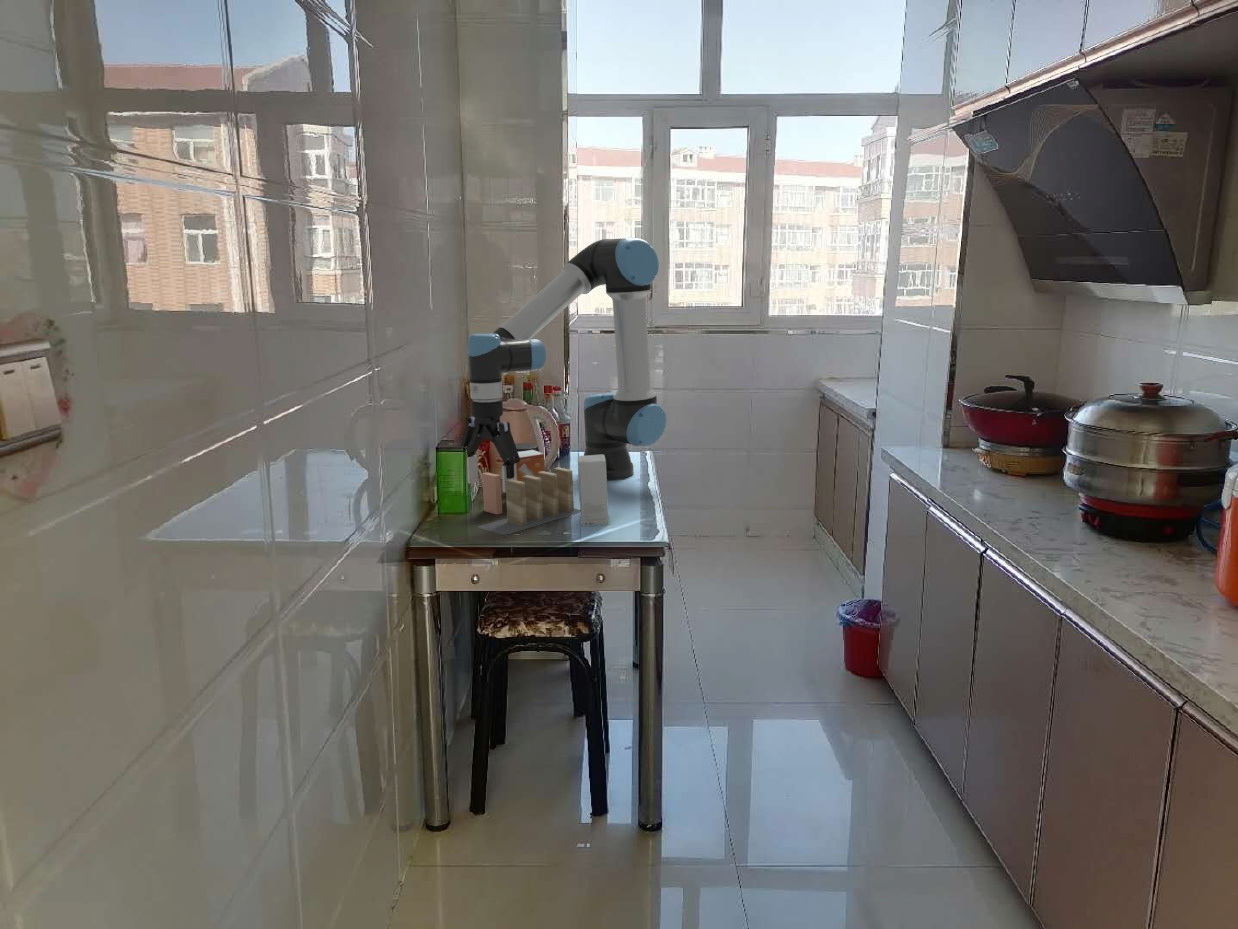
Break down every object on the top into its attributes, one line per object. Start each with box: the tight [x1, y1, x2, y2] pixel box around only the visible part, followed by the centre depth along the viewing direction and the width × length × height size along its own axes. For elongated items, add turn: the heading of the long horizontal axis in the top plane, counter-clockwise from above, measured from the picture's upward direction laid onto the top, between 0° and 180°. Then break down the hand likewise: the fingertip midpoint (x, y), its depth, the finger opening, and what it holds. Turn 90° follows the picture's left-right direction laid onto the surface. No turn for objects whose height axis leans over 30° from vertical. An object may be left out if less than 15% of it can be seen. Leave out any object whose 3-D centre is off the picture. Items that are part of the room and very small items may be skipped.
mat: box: [477, 507, 581, 536], centre depth 219 cm, size 25×10×1 cm, turn 136°
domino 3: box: [522, 475, 543, 521], centre depth 219 cm, size 2×5×10 cm, turn 46°
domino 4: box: [538, 470, 559, 516], centre depth 222 cm, size 2×5×10 cm, turn 46°
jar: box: [515, 442, 540, 452], centre depth 247 cm, size 9×8×12 cm
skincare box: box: [577, 454, 610, 527], centre depth 215 cm, size 8×7×16 cm
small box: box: [513, 450, 546, 482], centre depth 233 cm, size 8×6×13 cm
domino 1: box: [481, 471, 503, 515], centre depth 225 cm, size 2×5×10 cm, turn 46°
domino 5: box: [552, 466, 575, 512], centre depth 226 cm, size 2×5×10 cm, turn 46°
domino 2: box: [505, 479, 527, 526], centre depth 215 cm, size 2×5×10 cm, turn 46°
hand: (490, 486), depth 224 cm, fingers open, 13 cm apart
